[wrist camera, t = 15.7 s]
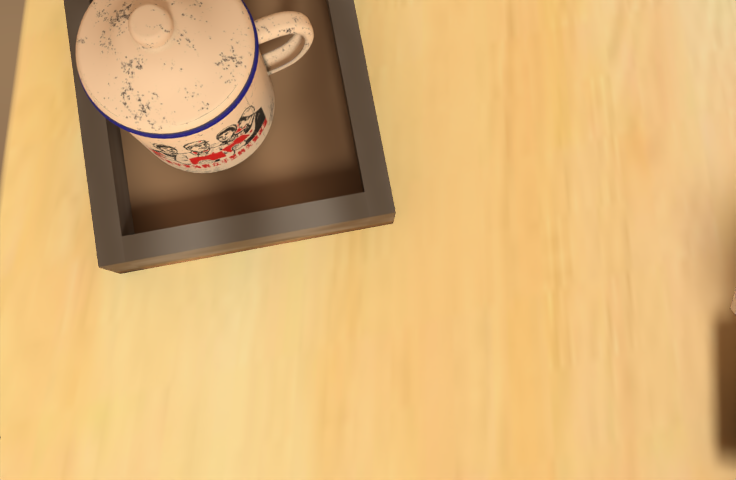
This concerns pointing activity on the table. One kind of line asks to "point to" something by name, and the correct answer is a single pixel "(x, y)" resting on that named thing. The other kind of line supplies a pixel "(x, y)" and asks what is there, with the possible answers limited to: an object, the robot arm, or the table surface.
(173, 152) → the teacup with lid
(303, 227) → the tray
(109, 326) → the table surface
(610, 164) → the table surface
